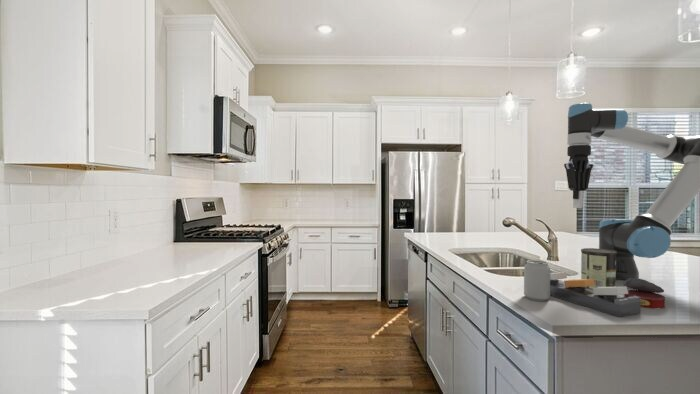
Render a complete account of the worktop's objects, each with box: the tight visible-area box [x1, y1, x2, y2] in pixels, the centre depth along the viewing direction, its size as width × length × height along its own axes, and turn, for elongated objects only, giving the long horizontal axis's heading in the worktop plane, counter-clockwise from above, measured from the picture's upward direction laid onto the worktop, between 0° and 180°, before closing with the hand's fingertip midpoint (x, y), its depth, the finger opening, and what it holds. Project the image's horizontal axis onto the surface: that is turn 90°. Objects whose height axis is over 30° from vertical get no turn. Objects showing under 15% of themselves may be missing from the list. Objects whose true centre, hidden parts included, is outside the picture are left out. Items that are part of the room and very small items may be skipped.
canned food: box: [623, 277, 666, 309], centre depth 113 cm, size 11×10×10 cm
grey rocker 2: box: [593, 286, 629, 296], centre depth 107 cm, size 7×4×2 cm, turn 22°
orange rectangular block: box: [563, 278, 595, 287], centre depth 116 cm, size 7×4×2 cm, turn 22°
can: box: [523, 259, 551, 302], centre depth 117 cm, size 8×8×12 cm
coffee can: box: [580, 247, 617, 289], centre depth 127 cm, size 10×10×14 cm
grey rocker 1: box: [550, 271, 568, 280], centre depth 124 cm, size 7×4×2 cm, turn 22°
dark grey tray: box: [550, 279, 642, 318], centre depth 116 cm, size 30×9×5 cm, turn 22°
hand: (577, 207), depth 137 cm, fingers closed
